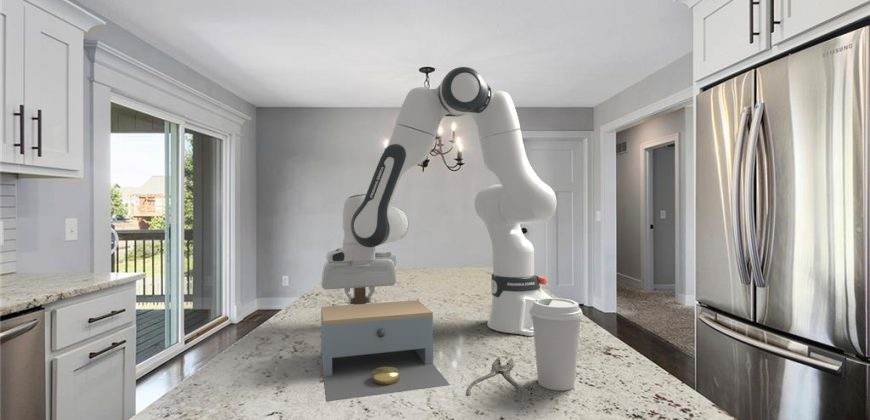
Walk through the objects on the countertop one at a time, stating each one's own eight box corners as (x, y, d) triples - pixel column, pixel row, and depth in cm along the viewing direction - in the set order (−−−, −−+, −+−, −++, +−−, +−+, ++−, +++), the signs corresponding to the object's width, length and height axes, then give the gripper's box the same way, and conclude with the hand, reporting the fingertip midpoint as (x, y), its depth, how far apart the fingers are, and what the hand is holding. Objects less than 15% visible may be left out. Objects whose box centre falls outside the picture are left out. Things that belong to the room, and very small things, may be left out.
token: (398, 374, 83) (398, 366, 83) (399, 384, 78) (399, 376, 78) (372, 375, 82) (372, 367, 82) (372, 386, 77) (372, 377, 77)
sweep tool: (373, 321, 120) (373, 276, 120) (388, 346, 99) (388, 292, 98) (344, 323, 118) (344, 278, 118) (353, 350, 96) (353, 294, 96)
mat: (416, 343, 102) (416, 343, 102) (450, 385, 78) (450, 384, 78) (321, 352, 95) (321, 352, 95) (326, 401, 72) (326, 401, 72)
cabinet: (418, 346, 100) (418, 300, 100) (434, 365, 88) (434, 313, 88) (321, 355, 94) (321, 306, 93) (323, 378, 81) (323, 322, 81)
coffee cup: (546, 369, 86) (546, 294, 85) (592, 383, 79) (592, 302, 79) (519, 383, 79) (519, 302, 79) (567, 399, 72) (566, 311, 72)
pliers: (466, 397, 72) (467, 355, 92) (466, 402, 72) (467, 359, 92) (524, 399, 71) (512, 357, 91) (524, 404, 71) (512, 361, 91)
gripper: (393, 250, 123) (394, 298, 123) (321, 253, 117) (321, 303, 117) (398, 253, 117) (398, 303, 117) (322, 256, 111) (322, 308, 111)
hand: (359, 303), depth 117 cm, fingers closed on sweep tool, 3 cm apart
